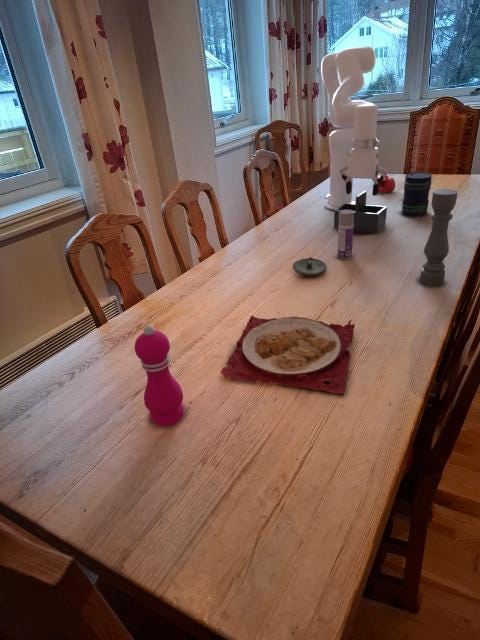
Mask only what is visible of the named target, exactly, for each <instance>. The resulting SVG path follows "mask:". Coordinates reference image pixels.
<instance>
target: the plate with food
mask: <svg viewBox="0 0 480 640" xmlns="http://www.w3.org/2000/svg"><path fill="white" fill-rule="evenodd" d="M352 321H353V320H352V319H350V320H348V323H346V324H344V325H342V324H335V323H330V324H328V323H326V322H324V321H321V320H314V319H311V318H307V317H303V316H301V317H299V316H287V317H285V316H284V317H279V318H275V317H273V318H260V317H255V316H254V315H251V316H250V318H249V319H248V321H246V322H247V323H246V325H245V327H244V329H243V330H242V333H241V336H240V337H239V338H238V340H237V341H236V347H235V349H234V351H233V353H232V354H231V355H230V356H229V357H228V359H227V362H225V365H226V366H225V367H222V369H221V370H220V374H221V375H222V376H224V377H225V378H230V379H232V380H234V381H235V380H237V381H243V382H249V383H250V382H252V383H254V382H256V381H259V382H260V383H267V384H271V383H272V384H277V385H281V386H287V387H292V388H299V387H300V388H301V389H302V388H307V389H309V390H314V391H324V392H326V393H331V394H341V395H343V394H344V393H345V385H346V380H347V375H348V369H349V363H350V357H351V351H350V350H348V348H349V345H350V344H351V343H353V339H354V333H355V330H354V329H355V326H356V325H355V324H354V323H353V324H351V323H352ZM324 382H329V384H326V383H324Z"/></svg>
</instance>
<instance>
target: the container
mask: <svg viewBox="0 0 480 640" xmlns="http://www.w3.org/2000/svg"><path fill="white" fill-rule="evenodd" d="M353 229H354V211H353V210H341V211H339V226H338V229H337V258H338V259H340V260H349V259H352V258H353V246H354V235H353Z"/></svg>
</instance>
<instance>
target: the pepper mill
mask: <svg viewBox="0 0 480 640" xmlns="http://www.w3.org/2000/svg"><path fill="white" fill-rule="evenodd" d="M142 332H143V333H141V334H140V335H138V336H137V337H136V339H135V342H134V352H135V355H136V356H137V358H138V359H139V360H140V364H141V368H142V369H143V370H144V371H145V373H146V377H147V379H146V380H147V381H146V386H145V388H144V392H143V403H144V406H145V408H146V409H147V410H148V411H149V415H150V420H151V421H152V423H153V424H154V425H156V426H159V427H169V426H172V425H173V426H174V425H175V424H176V423H179V421H181V419H182V418H183V416H184V414H185V411H184V410H185V409H184V406H183V400H184V392H183V390H182V387H181V385H180V383H179V382H178V381H177V379H175V377H174V376H173V375H172V373H171V371H170V368H169V365H170V363H171V357H170V354H169V352H170V350H171V349H170V348H171V343H170V340H169V338H168V337H167V335H166V334H165V333H164V332H162V331H160V330H155V329H154V327H153V326H152V325H149V324H148V325H145V326H144V327H143V330H142Z"/></svg>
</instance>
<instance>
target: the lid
mask: <svg viewBox="0 0 480 640" xmlns="http://www.w3.org/2000/svg"><path fill="white" fill-rule="evenodd" d="M327 269H328V267H327V264H326V263H325V262H324V261H323V260H321V259H318V258H314V257H305V258H300V259H298V260H295V261H294V262H293V263H292V270H293V271H294V272H296V273H297V274H299V275H303V276H308V277H316V276H318V275H322V274H323V273H325V272H326V271H327Z"/></svg>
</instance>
